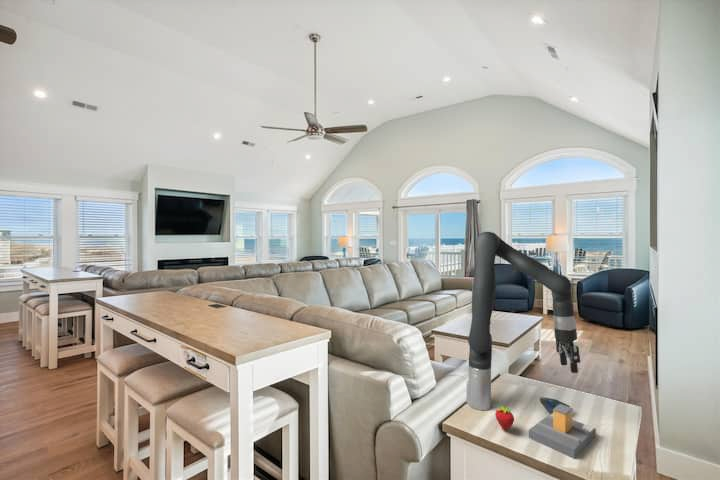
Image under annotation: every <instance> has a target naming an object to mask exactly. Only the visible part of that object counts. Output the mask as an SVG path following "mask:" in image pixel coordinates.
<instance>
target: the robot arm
mask: <svg viewBox="0 0 720 480" xmlns="http://www.w3.org/2000/svg"><path fill="white" fill-rule="evenodd" d="M496 257H498V258H501V260H504V261H505V262H507V263H509V264H510V265H512V266H513V267H514V268H516V269H517V270H518V271H519V272H521V273H523V274H525V275H527V277H529V278H531V279H533V280H534V281H536V282H539V283H540V284H541V285H543V286H544V287H545V288H547V289H548V290H550V291H551V297H552V298H551V299H552V313H553V320H552V322H553V330H554V331H553V333H554V339H555V346H556V347H555V348H556V353H558V355H559V361H560V362H559V363H560V365H561V366H567V365H568V360H569V366H570V372H571V373H572V374H578V373H579V370H578V364H580V363H581V356H580V349H579V346H578V345H575V344H574V341H577V340H578V332H577V323H576V322H577V321H576V318H575V309H574V305H573V301H572V282H571V281H570V279H569V277H568V276H565V275H562V274H559V273H557V272H555V271H554V270H552V269H550V268H549V266H547V265H545V264H544V263H542V262H540V261H538V260H537V259H534V258H533V257H531V256H529V255H527V254H525V253H523V252H521V251H520V250H517V249H516V248H514V247H513V246H511V245H510V244H508V243H507V242H505V241H504V240H503V239H502V238H501V237H500V236H498V234H496V233H495V232H492V231H483V232H481V233H480V234H478V236H477V237H476V239H475V269H474V273H473V281H472V291H471V292H472V293H471V323H470V324H471V325H470V329H469V335H468V338H467V342H468V346H469V356H468V380H467V381H466V395H465V396H466V399H465V400H466V402H465V403H466V404H468V406H469V407H470V408H473V409H475V410H479V411H486V410H487V411H488V410H490V409H491V407H492V405H491V404H492V356H493V355H492V353H493V352H492V351H493V338H492V334H491V332H490V331H491V329H490V328H491V320H492V314H493V311H494V305H495V298H496V291H497V290H496V289H497V285H496V272H495V263H496V262H495V260H496Z"/></svg>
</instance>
